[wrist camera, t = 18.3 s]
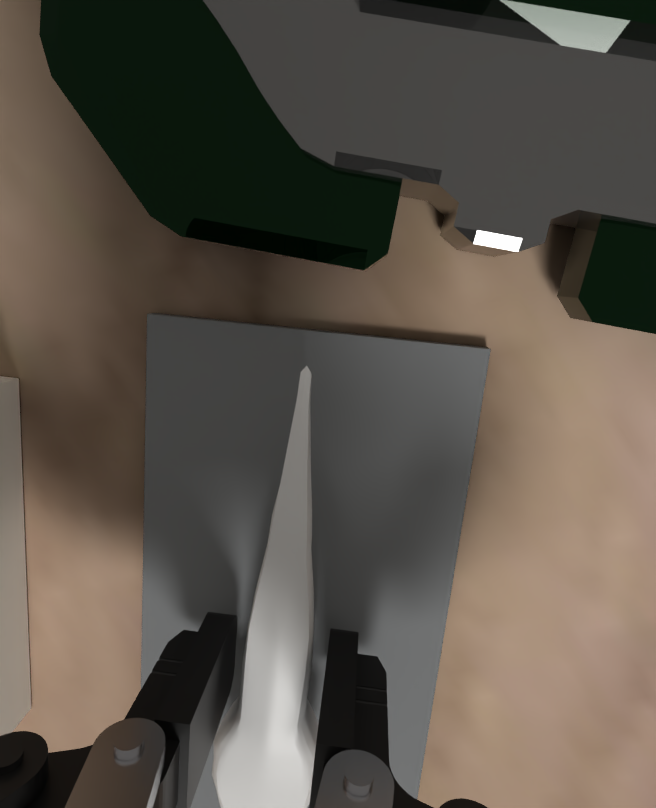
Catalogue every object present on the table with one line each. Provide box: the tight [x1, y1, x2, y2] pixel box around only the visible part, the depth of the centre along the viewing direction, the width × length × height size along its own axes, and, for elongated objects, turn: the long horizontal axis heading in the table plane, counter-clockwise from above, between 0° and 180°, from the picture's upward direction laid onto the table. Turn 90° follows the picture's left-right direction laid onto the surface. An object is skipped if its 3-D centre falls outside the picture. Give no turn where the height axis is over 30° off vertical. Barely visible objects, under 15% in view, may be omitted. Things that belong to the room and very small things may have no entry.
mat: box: [141, 313, 491, 808], centre depth 15 cm, size 8×17×1 cm, turn 175°
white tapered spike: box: [212, 366, 318, 808], centre depth 13 cm, size 15×3×2 cm, turn 174°
